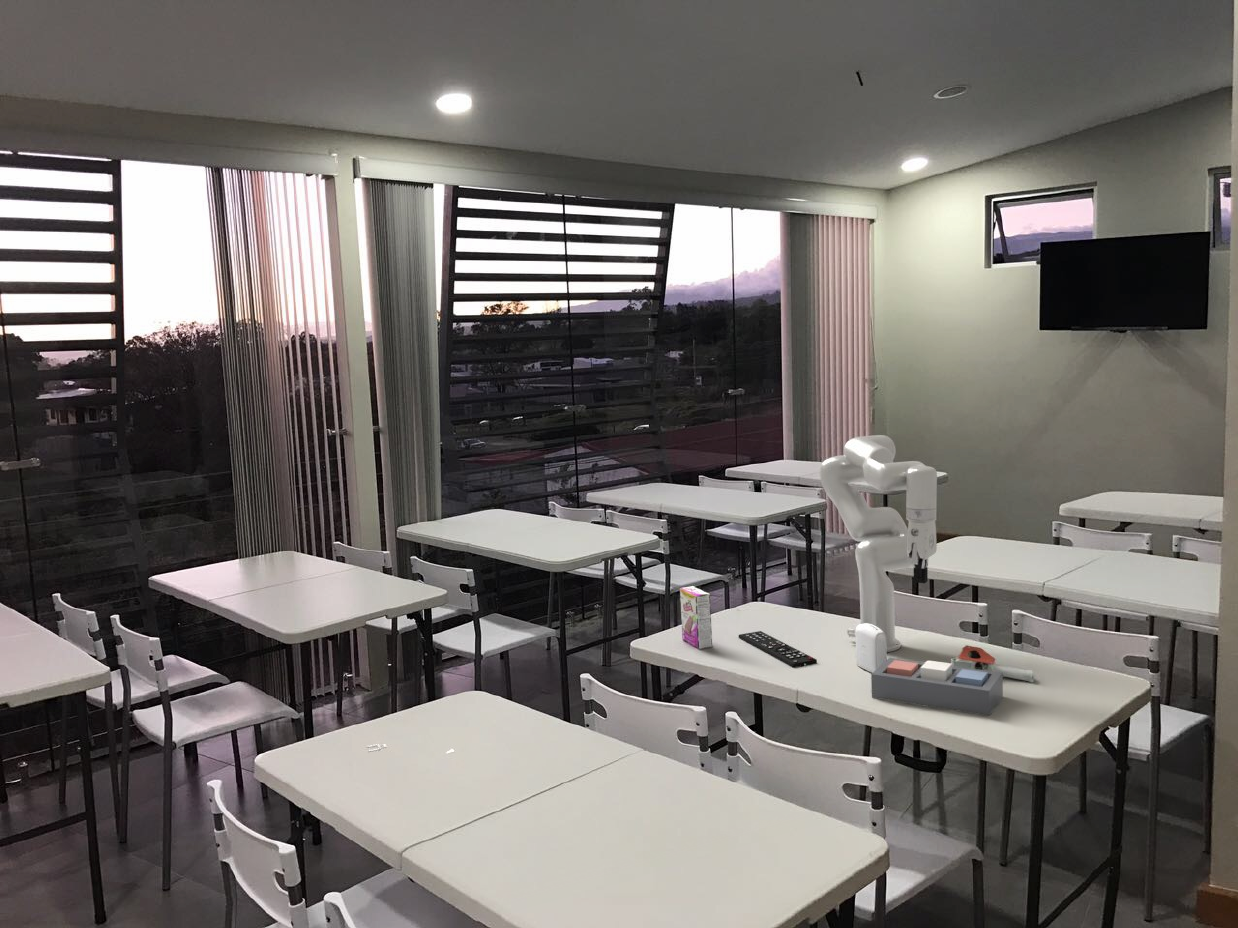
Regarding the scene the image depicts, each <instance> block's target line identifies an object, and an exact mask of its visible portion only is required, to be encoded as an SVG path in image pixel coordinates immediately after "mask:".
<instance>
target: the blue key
mask: <svg viewBox="0 0 1238 928" xmlns="http://www.w3.org/2000/svg"><path fill="white" fill-rule="evenodd" d="M987 680H988V673H987V672H980V671H973V670H965V669H962V670H961V671H960V672H959V673H958V674H957V676H956V683H958V684H965V685H972V686H979V687H982V686H983V685H984V684H985V683H986V681H987Z"/></svg>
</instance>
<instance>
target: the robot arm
mask: <svg viewBox="0 0 1238 928" xmlns="http://www.w3.org/2000/svg"><path fill="white" fill-rule="evenodd" d="M896 451H897V450H896V445H895V442H894V441H893V440H892V438H890V437H889V436H887V435H884V434H877V435H875V434H874V435H862V436H861V435H860V436H855V437H853V438H850V439H849V440H848V441H847V442H846V443H845V445H844V447H843V455H835V456H831V457H828V458H827V459H825V460H824V461H823V462H822V463H821V464H820V468H819V469H820V470H819V476H820V477H819V478H820V482H821V485H822V488H823V490H824V492H825V494H826V495H827V496H828V498H829V500H830V501H831V502H832V503H833V504H834V506H835V508H836V509H837V511H838V513H839V515H840V517H841V520H842V521H843V523H844V526H845V527H846V529H847V532H848V534H849V535H850V537H851V538H852V540H854V541H856V542H859V543H858V544H857V545H856V547H855V551H854V553H855V555H854V556H855V561H856V565H857V571H858V579H859V582H858V583H859V604H860V606H859V609H860V610H859V611H860V612H859V613H860V615H859V616H860V624H864V623H868V624H872V625H875V626H876V627H878V628H879V629H881V630H882V631H883V632H884V633H885V635H886V644H887V653H890V652H894V651H897V650H899V649H900V648H901V645H902V644H901V641H900V640H898V639H897V638H896V636H895V635H896V631H895V630H896V629H895V628H896V626H895V587H894V583H893V582H892V580H891V579H890V578H889V576H888V575H887V573H886V572H888V571H889V572H890V571H895V570H903V569H908V568H911V567H913V580H912V581H913V582H914V583H919V584H926V583H927V582H928V577H929V576H928V573H929V572H928V570H929V567H928V566H929V558H931V557H932V556H933V555H934V554H936V553H937V549H938V547H937V526H936V521H937V503H938V502H937V500H938V499H937V497H938V496H937V490H938V489H937V487H938V484H937V483H938V473H937V472H938V471H937V470H936V468H934V467H933V466H929V465H925V464H924V463H923V462H922V461H918V460H911V461H899V462H898V461H896V462H894V459H895V457H896V453H897V452H896ZM865 482H866V483H867V484H868V485H869V486H870V487H872V488H874V489H876V490H878V491H880V492H898V491H906V493H905V494H906V495H905V498H906V501H905V507H906V508H905V510H906V511H905V515H906V516H905V519H906V520H907V521H908V525H906V522H905V521H904V519H903V517H902V516H901V514H900V513H899V511H897V510H896V509H895V508H893V507H890V506H881V507H871V506H870V505H869V504H868V503H867V501H866V498H865V497H864V495H863V494H862V493H861V492H860V491H859V490H857V489H856V488H854V487H853V486H851V485H850V484H853V483H865ZM907 526H908V527H907ZM855 630H856V628H849V627H848V628H847V631H846V632H847V635H848V638H855Z"/></svg>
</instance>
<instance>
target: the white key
mask: <svg viewBox="0 0 1238 928" xmlns="http://www.w3.org/2000/svg"><path fill="white" fill-rule="evenodd" d="M925 662H926V663H925V664H924V665H923V666H922V667H921V678H922V679H929V680H936V681H944V682H946V681H947V680H948V679H949V678H950V677H951V675H952V663H951V662H950V663H949V662H943V661H934V660H926V661H925Z"/></svg>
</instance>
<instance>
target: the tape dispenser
mask: <svg viewBox="0 0 1238 928" xmlns="http://www.w3.org/2000/svg"><path fill="white" fill-rule="evenodd" d="M961 650H962V651H961V653H959V655H958V656H957V657H953V658H951V659H950V663H952V666H956V667H963V668H971V669H976V668H981V667H982V668H981V670H986V671H993V672H1001V673H1003V677H1005V678H1011V679H1015V680H1020V681H1024V682H1025V681H1026V682H1029V683H1031V684H1032V683H1034V679H1035V678H1034V677H1035V674H1034V670H1032V669H1022V668H1016V667H1012V666H1011V667H1010V666H1002V665H998V664H997V663H996V658H995V657H993V656H992V655H991V654H990V653H988V652H987V651H985V650H984V649H983V648H981V647H977V646H971V645H966V644H965V646H963V647H962V649H961Z"/></svg>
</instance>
